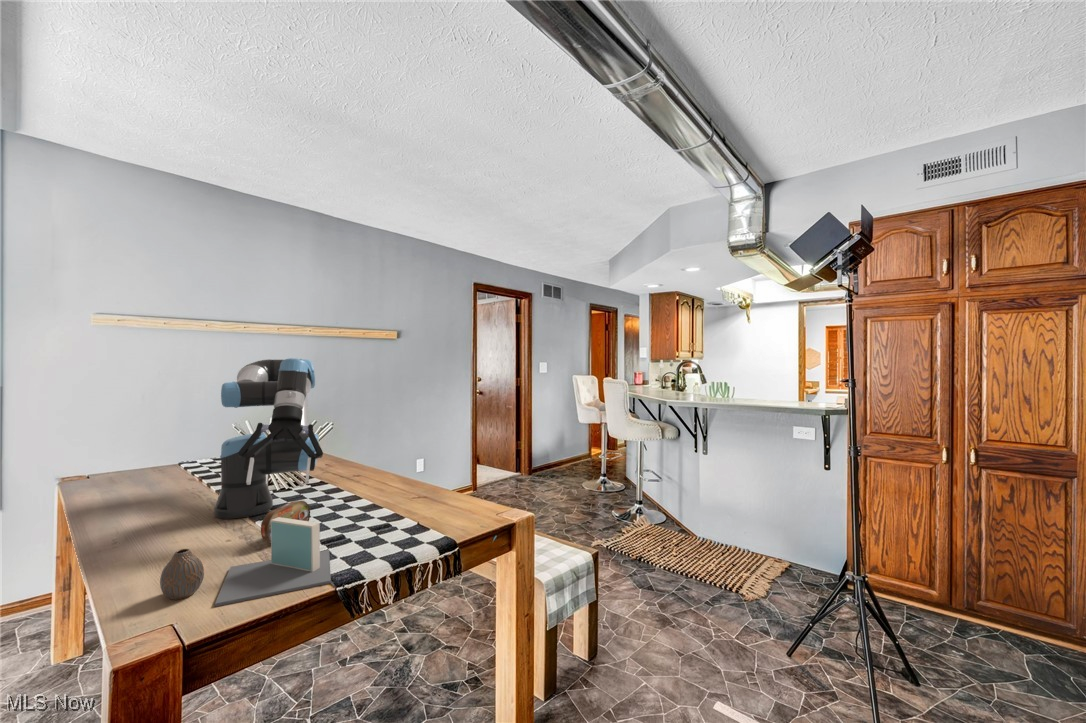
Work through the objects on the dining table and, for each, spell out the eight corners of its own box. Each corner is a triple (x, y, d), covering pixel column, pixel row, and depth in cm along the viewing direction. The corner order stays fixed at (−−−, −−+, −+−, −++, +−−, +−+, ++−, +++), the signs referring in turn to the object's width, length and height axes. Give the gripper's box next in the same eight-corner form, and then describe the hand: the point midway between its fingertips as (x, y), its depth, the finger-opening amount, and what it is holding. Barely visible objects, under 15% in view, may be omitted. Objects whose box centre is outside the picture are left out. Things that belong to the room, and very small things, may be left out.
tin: (269, 548, 113) (268, 515, 112) (258, 547, 113) (257, 514, 113) (311, 526, 127) (311, 496, 127) (301, 525, 128) (301, 496, 128)
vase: (188, 602, 88) (188, 557, 88) (150, 604, 87) (150, 559, 87) (212, 585, 95) (211, 543, 94) (177, 586, 94) (176, 544, 94)
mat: (230, 569, 101) (230, 566, 101) (329, 552, 110) (329, 549, 110) (214, 606, 86) (214, 603, 86) (330, 583, 95) (330, 580, 95)
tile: (270, 564, 103) (270, 520, 102) (278, 560, 105) (278, 517, 105) (311, 572, 99) (311, 526, 99) (319, 567, 101) (319, 523, 101)
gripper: (235, 401, 122) (220, 480, 113) (336, 406, 133) (330, 478, 124) (238, 412, 128) (223, 487, 118) (334, 415, 139) (328, 485, 129)
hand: (278, 483), depth 121 cm, fingers open, 13 cm apart
